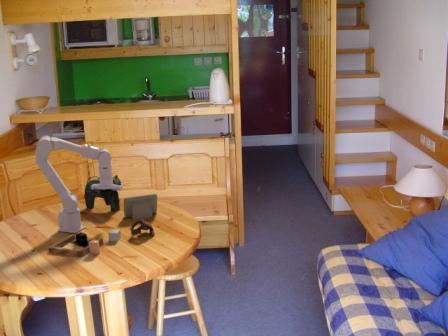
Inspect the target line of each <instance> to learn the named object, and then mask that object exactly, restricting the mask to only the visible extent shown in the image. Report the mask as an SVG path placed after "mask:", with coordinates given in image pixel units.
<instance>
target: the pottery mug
mask: <svg viewBox="0 0 448 336" xmlns="http://www.w3.org/2000/svg"><path fill="white" fill-rule="evenodd" d="M139 224H140V225H139ZM138 225H139V226H138ZM136 226H138V227H137V228H135V227H136ZM134 228H135V229H134ZM148 230H149V233H150V234H151V235H152V237H155V235H156V234H155V230H154V228H153V226H152V224H151V223H150V222H149V218H143V219H136V221H134V222H133V223H132V224H131V227H130V228H129V231H131V232H130V235H131V236H133V237H134V236H137V235H142V231H148Z"/></svg>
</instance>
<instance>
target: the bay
mask: <svg viewBox="0 0 448 336" xmlns="http://www.w3.org/2000/svg"><path fill="white" fill-rule="evenodd" d="M75 236H76V234H75V233H71V234H70V235H68V236H66V237H64V238H62V239H61V240H59V241H57V242H56V243H53V244H52V245H50V246H48V251H49V253H53V254H60V255H65V256H66V255H67V256H71V257H72V256H73V257H76V258H77V257H78V258H82V257H84V256H86V255H87V254H90V250H89V245H88V246H87V247H82V249H80V250H79V249H72V248H67V247H66V248H65V247H64V246H66V245H68V244H70V243H71V242H73V241H75V240H76V237H75ZM97 240H98V241H99V247H100V246H101V245H103V244H104V238H102V237H101V238H98V239H97Z"/></svg>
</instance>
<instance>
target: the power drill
mask: <svg viewBox="0 0 448 336" xmlns="http://www.w3.org/2000/svg"><path fill="white" fill-rule="evenodd" d="M93 178H94V179H93ZM112 178H113V184H115V185H121V186H122V180H121V179H120V178H119V176H118V174H115V175H114V176H112ZM89 180H90V181H89ZM93 184H100V178H99V176H95V175H94V176H90V177H89V178H87V181H86V184H85V186H84V195H83V196H84V203H85V208H86V209H90V210H91V209H94V208H95V200H96V198H99V199H103V200H104V198H103V197H102V195H101V194H100V191H101V189H92V188H91V185H93ZM120 202H121V201H120V197H119V191H118V190H115V191H114V193H113V195H112V199H111V204H110V205H109V208H110V211H111V212H118V211H120V210H121V207H120Z"/></svg>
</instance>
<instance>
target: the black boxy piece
mask: <svg viewBox="0 0 448 336" xmlns="http://www.w3.org/2000/svg"><path fill="white" fill-rule="evenodd" d="M70 244H72V245H75V246H79V247H81V248H85V247H87V246H88V245H89V239H88V235H87V233H84V232H81V231H79V232H77V233H75V240H73V241H71V242H70Z"/></svg>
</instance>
